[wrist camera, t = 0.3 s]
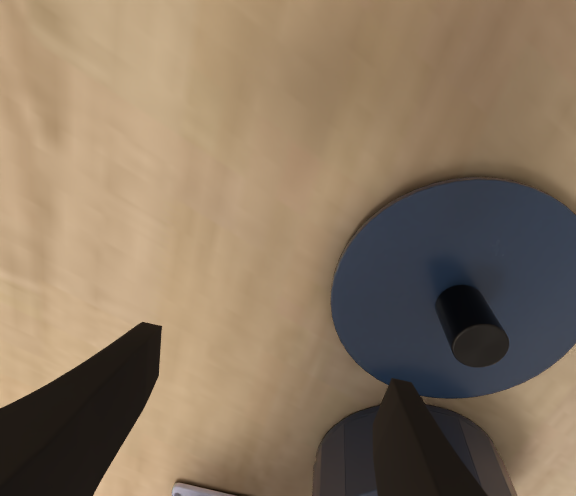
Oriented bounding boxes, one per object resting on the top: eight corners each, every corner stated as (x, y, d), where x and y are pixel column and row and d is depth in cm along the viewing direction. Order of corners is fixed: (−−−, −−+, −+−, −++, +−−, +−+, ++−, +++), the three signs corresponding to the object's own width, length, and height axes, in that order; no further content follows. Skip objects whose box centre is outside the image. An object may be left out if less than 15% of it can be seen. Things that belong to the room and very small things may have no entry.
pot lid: (518, 405, 24) (554, 474, 20) (308, 357, 25) (303, 416, 20) (645, 207, 19) (731, 249, 15) (368, 145, 19) (378, 170, 15)
